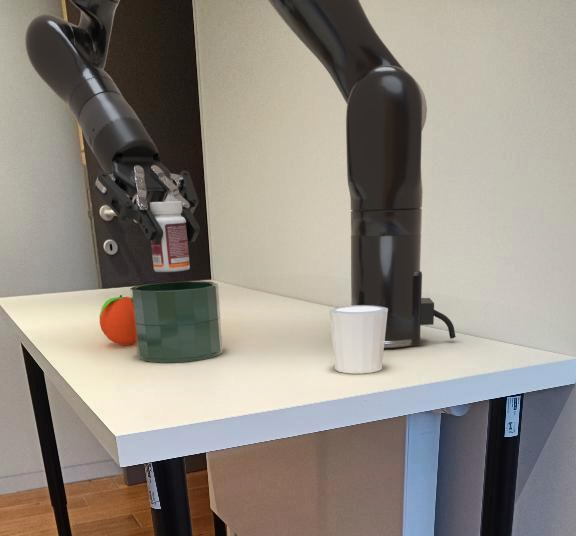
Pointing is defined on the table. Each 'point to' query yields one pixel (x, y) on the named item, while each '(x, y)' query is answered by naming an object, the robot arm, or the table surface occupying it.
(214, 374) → the table surface
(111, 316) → the clementine
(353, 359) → the shot glass
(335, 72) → the robot arm
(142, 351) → the pot
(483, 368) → the table surface
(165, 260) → the pill bottle
